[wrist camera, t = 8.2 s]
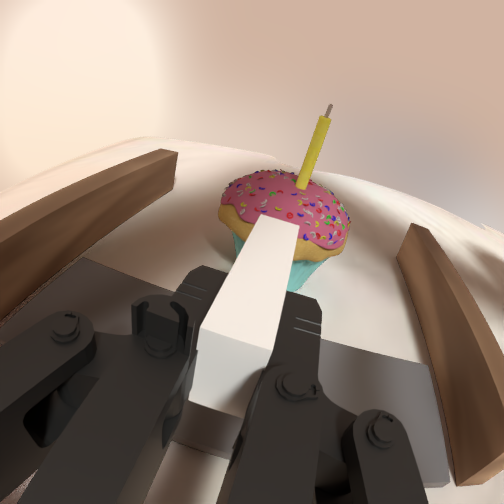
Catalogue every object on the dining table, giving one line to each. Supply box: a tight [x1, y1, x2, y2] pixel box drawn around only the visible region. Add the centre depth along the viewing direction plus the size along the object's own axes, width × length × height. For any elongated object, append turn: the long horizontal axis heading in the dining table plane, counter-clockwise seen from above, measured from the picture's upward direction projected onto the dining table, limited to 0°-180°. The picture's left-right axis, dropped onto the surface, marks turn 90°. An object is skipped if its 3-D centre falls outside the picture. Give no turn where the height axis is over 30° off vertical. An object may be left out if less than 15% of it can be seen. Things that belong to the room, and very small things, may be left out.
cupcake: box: [218, 104, 351, 292], centre depth 20 cm, size 9×8×12 cm
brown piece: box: [0, 149, 504, 488], centre depth 20 cm, size 28×24×4 cm
